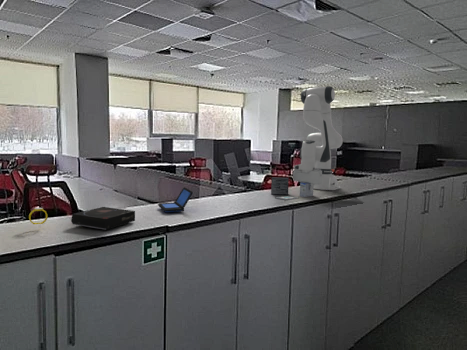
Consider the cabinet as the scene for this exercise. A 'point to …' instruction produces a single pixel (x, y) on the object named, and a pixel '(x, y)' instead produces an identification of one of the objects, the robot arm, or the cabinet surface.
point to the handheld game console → (177, 202)
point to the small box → (279, 186)
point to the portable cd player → (103, 217)
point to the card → (286, 197)
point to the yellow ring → (37, 210)
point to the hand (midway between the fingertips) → (306, 189)
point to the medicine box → (305, 189)
